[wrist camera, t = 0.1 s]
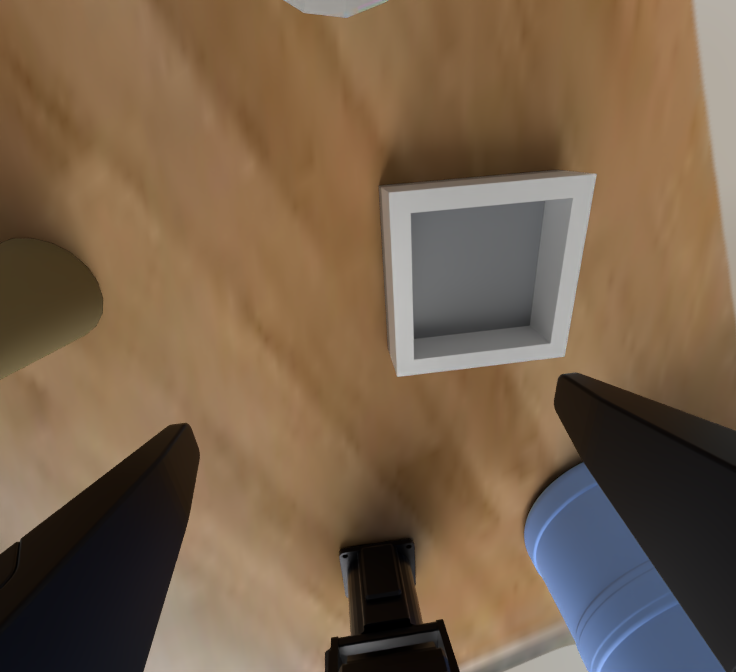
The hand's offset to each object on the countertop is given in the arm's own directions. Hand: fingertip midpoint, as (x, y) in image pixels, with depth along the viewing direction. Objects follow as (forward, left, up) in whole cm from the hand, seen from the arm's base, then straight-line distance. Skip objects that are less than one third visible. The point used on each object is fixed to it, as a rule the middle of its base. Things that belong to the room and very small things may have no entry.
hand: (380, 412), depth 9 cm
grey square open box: (-1, -7, -15) cm, 16 cm away
